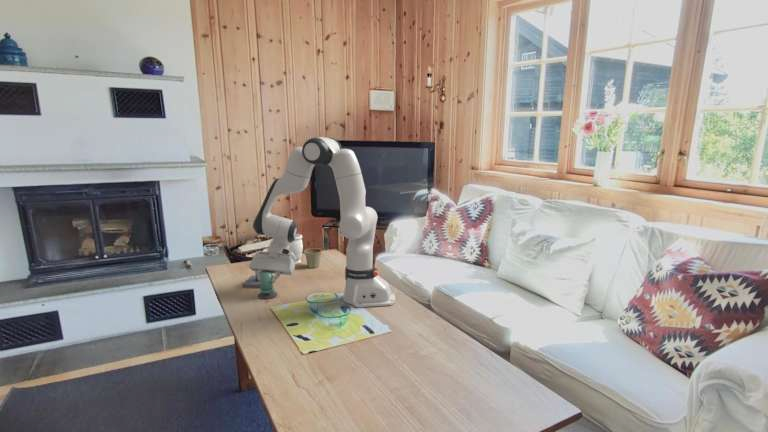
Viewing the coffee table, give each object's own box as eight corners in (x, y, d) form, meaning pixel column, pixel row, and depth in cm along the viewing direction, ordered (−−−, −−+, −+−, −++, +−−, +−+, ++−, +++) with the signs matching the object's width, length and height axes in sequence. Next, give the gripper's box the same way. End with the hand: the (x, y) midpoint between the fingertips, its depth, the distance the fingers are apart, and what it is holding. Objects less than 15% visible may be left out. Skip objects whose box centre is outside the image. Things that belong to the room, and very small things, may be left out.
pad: (279, 292, 184) (279, 291, 184) (273, 299, 177) (273, 298, 176) (261, 292, 185) (261, 290, 184) (255, 299, 177) (255, 297, 177)
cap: (275, 288, 183) (274, 271, 181) (271, 293, 177) (271, 275, 176) (262, 288, 183) (261, 270, 181) (258, 293, 177) (257, 275, 176)
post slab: (276, 278, 201) (276, 275, 201) (268, 287, 189) (268, 284, 189) (251, 278, 202) (251, 275, 201) (242, 287, 190) (242, 284, 189)
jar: (307, 261, 228) (306, 235, 225) (293, 266, 220) (292, 239, 217) (293, 258, 234) (292, 232, 231) (279, 263, 225) (278, 236, 222)
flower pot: (301, 268, 217) (301, 252, 215) (307, 263, 226) (307, 247, 224) (319, 269, 215) (318, 253, 213) (324, 264, 224) (324, 248, 223)
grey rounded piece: (266, 277, 198) (265, 266, 197) (262, 282, 192) (261, 271, 191) (257, 277, 198) (257, 266, 197) (253, 282, 192) (252, 270, 191)
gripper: (253, 247, 186) (241, 275, 179) (294, 251, 181) (284, 280, 173) (259, 254, 191) (248, 281, 184) (299, 258, 186) (289, 287, 178)
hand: (265, 281), depth 179 cm, fingers closed on cap, 5 cm apart
